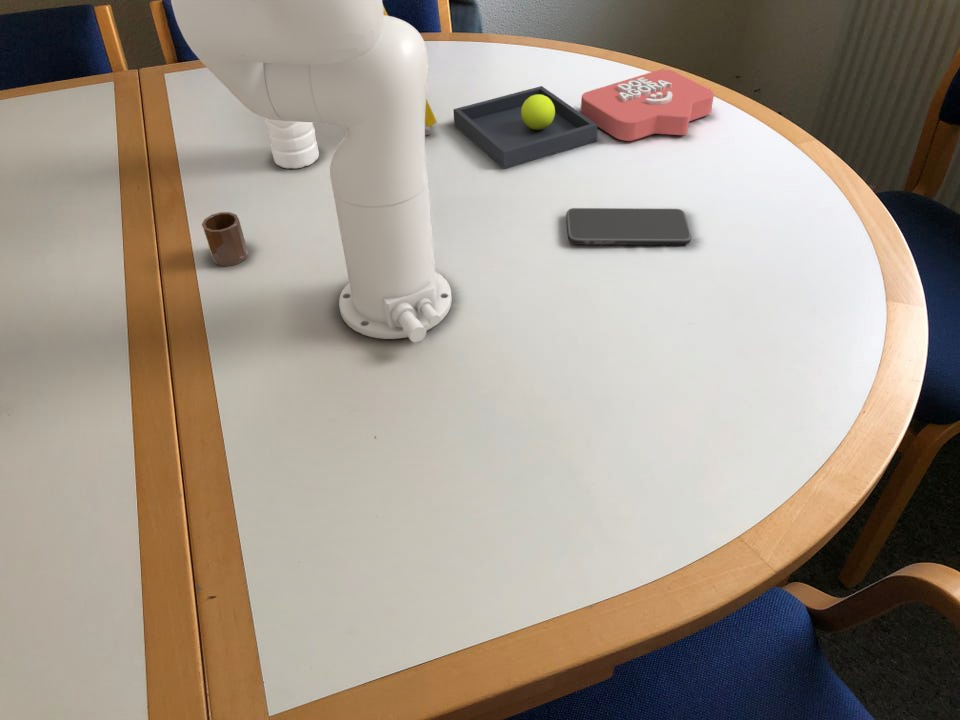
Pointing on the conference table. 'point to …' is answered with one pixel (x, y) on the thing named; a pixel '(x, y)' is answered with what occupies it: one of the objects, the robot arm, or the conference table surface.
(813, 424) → the conference table surface
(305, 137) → the water bottle
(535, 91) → the tray
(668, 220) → the smartphone
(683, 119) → the plaque
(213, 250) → the cup
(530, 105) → the ball
